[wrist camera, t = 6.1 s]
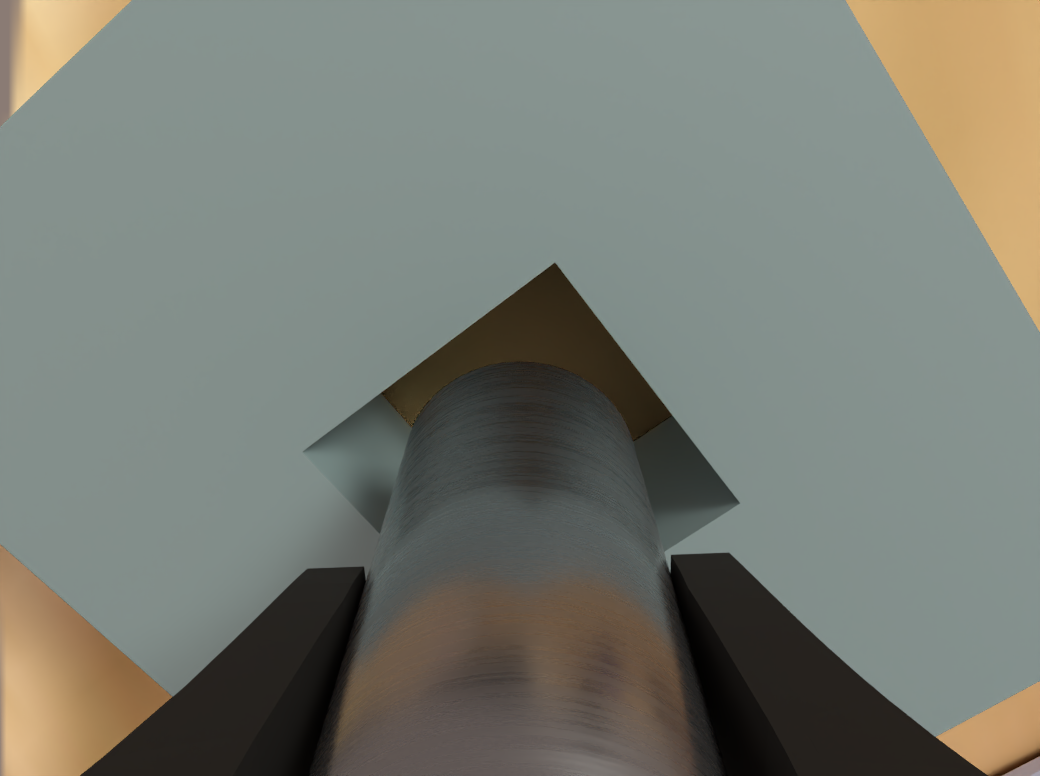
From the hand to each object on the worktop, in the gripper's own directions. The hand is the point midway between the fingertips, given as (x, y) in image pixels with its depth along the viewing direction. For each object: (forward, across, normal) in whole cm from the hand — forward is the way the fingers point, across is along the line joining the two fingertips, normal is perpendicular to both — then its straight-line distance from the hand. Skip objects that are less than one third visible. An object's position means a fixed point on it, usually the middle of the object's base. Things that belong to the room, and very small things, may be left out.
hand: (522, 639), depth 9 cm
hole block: (+8, 0, 0) cm, 8 cm away
